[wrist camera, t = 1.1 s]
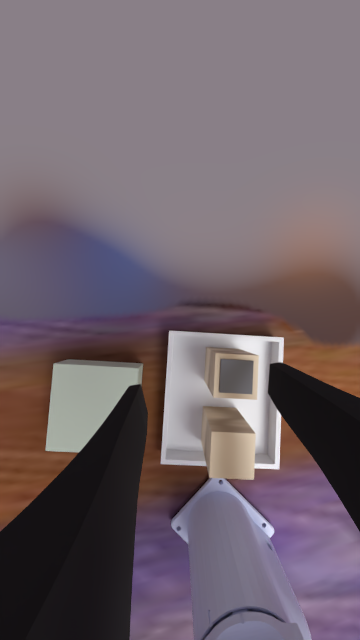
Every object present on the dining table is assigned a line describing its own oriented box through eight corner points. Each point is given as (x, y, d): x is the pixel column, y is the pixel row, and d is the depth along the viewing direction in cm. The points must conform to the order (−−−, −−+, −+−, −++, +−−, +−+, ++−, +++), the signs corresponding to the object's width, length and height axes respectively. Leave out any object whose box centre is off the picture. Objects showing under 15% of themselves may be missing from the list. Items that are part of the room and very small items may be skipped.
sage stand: (143, 363, 21) (138, 368, 18) (137, 439, 21) (132, 454, 18) (68, 359, 21) (53, 363, 18) (61, 435, 20) (45, 450, 18)
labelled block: (238, 348, 21) (259, 355, 16) (237, 382, 21) (257, 400, 16) (206, 346, 21) (215, 353, 16) (204, 380, 21) (213, 397, 15)
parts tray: (169, 330, 21) (169, 330, 19) (273, 336, 21) (283, 337, 19) (162, 450, 21) (160, 464, 19) (269, 455, 21) (279, 469, 19)
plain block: (236, 407, 20) (255, 433, 15) (234, 442, 20) (253, 479, 15) (202, 405, 20) (211, 431, 15) (200, 440, 20) (209, 477, 15)
